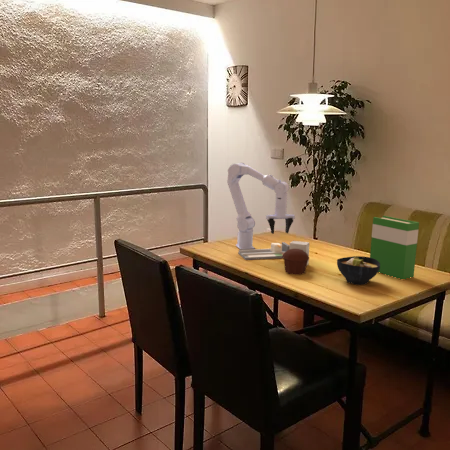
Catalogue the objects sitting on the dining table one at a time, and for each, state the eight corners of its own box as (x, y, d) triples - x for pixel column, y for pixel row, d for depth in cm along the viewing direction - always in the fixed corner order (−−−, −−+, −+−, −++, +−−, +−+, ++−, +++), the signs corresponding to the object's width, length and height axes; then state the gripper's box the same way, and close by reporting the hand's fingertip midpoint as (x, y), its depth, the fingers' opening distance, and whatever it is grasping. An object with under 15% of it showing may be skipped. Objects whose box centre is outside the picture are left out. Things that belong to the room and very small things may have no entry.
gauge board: (238, 253, 238) (238, 243, 237) (283, 251, 244) (284, 242, 243) (245, 259, 226) (245, 249, 225) (292, 257, 232) (293, 247, 231)
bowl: (386, 282, 197) (388, 259, 195) (364, 291, 185) (366, 266, 183) (349, 273, 209) (351, 250, 207) (327, 280, 197) (329, 257, 195)
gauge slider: (270, 250, 240) (271, 242, 239) (278, 250, 241) (278, 242, 240) (276, 254, 232) (276, 246, 231) (283, 254, 233) (284, 246, 232)
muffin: (307, 268, 214) (308, 247, 212) (309, 276, 203) (311, 253, 201) (280, 267, 215) (281, 245, 213) (281, 274, 204) (282, 252, 202)
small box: (308, 264, 221) (309, 242, 219) (305, 267, 216) (306, 244, 214) (291, 262, 224) (293, 240, 222) (288, 265, 219) (289, 242, 217)
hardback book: (368, 269, 215) (373, 217, 210) (379, 267, 219) (384, 215, 214) (402, 280, 201) (408, 224, 196) (413, 277, 205) (419, 222, 200)
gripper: (269, 207, 232) (268, 235, 234) (297, 207, 235) (296, 234, 238) (265, 205, 238) (264, 232, 241) (292, 205, 242) (290, 231, 245)
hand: (279, 233), depth 240 cm, fingers open, 7 cm apart
